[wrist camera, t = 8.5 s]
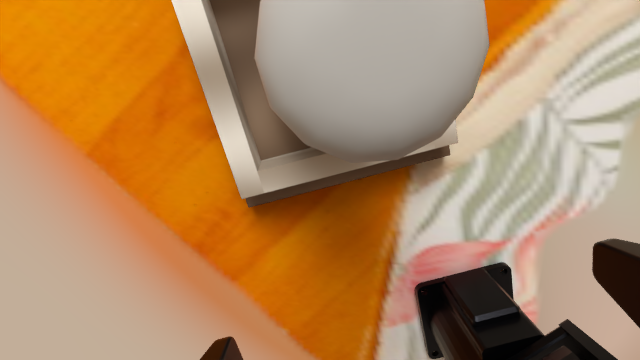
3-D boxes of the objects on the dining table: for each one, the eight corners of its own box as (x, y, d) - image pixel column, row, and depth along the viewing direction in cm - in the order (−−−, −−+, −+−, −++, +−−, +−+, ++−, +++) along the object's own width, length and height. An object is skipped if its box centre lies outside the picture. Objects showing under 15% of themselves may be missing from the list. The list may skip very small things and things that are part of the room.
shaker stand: (443, 150, 21) (466, 164, 18) (250, 200, 21) (243, 222, 18) (405, -130, 16) (429, -170, 14) (159, -63, 17) (131, -89, 14)
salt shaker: (268, 117, 19) (220, 225, 6) (256, -3, 17) (158, -175, 5) (376, 110, 19) (530, 202, 7) (377, -9, 17) (591, -182, 5)
